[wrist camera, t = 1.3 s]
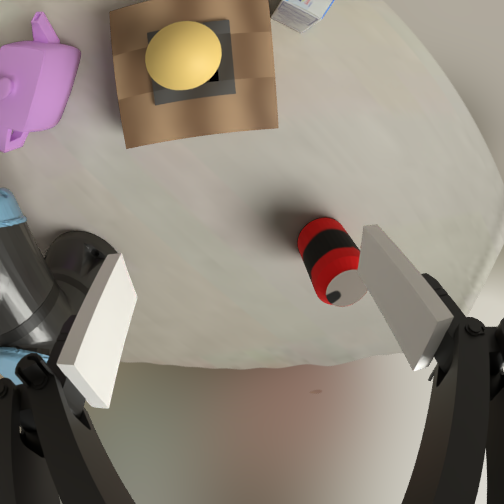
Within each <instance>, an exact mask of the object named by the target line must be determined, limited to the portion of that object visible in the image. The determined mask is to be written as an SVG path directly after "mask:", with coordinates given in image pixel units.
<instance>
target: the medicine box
mask: <svg viewBox="0 0 504 504" xmlns="http://www.w3.org/2000/svg"><path fill="white" fill-rule="evenodd" d="M333 2H334V0H281V2H280V3H279V4H278V6H277V8H276V9H275V11H274V12H273V14H272V16H271V18H272V19H274V20H276V21H278V22H280V23H282V24H284V25H286V26H288V27H290V28H292V29H294V30H296V31H298V32H300V33H303V32H304V31H305V30H307V29H308V28H310V27H311V26H313V25H314V24H316V23H317V22H319V21H320V20H322V18H323V17H324V15H325V14H326V12H327V11H328V9H329V8H330V6H331V5H332V3H333Z"/></svg>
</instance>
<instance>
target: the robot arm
mask: <svg viewBox="0 0 504 504" xmlns="http://www.w3.org/2000/svg"><path fill="white" fill-rule="evenodd" d="M26 221H27V219H26V217H25V216H23V214H22V212H21V210H20V208H19V205H18V203H17V201H16V199H15V197H14V195H13V193H12V192H11V191H10V190H9V189H7V188H0V374H1V375H2V376H4V377H5V378H2V379H0V504H60V499H61V501H62V503H63V504H135V502H134V500H133V499H132V498H131V496H130V494H129V493H128V491H127V489H126V488H125V486H124V484H123V483H122V481H121V479H120V477H119V476H118V474H117V472H116V470H115V469H114V467H113V465H112V463H111V461H110V459H109V457H108V455H107V453H106V451H105V449H104V447H103V445H102V443H101V441H100V439H99V437H98V435H97V433H96V430H95V428H94V426H93V424H92V421H91V419H90V417H89V414H88V412H87V411H86V409H85V408H84V403H85V399H86V401H87V402H88V403H89V404H90V405H91V406H92V407H97V408H109V406H110V401H111V396H112V392H113V387H114V382H115V378H116V374H117V370H118V366H119V362H120V358H121V354H122V350H123V346H124V343H125V339H126V335H127V332H128V328H129V325H130V321H131V318H132V314H133V311H134V307H135V304H136V301H137V298H138V297H137V295H136V292H135V289H134V287H133V284H132V281H131V279H130V276H129V273H128V270H127V267H126V265H125V262H124V259H123V256H122V253H117V252H116V251H115V250H114V248H113V247H112V246H110V245H109V244H108V243H107V242H106V241H104V240H103V239H101V238H99V237H97V236H95V235H93V234H90V233H87V232H81V231H73V232H68V233H65V234H63V235H61V236H59V237H58V238H57V239H56V240H55V241H54V242H53V244H52V245H51V246H50V247H49V249H48V250H47V252H46V255H45V258H43V256H42V254H41V252H40V250H39V248H38V246H37V244H36V242H35V240H34V238H33V236H32V234H31V231H30V229H29V227H28V225H27V223H26ZM357 273H358V274H359V276H360V277H361V279H362V281H363V282H364V284H365V286H366V287H367V289H368V291H369V292H370V294H371V296H372V297H373V299H374V301H375V302H376V304H377V306H378V308H379V309H380V311H381V313H382V315H383V316H384V318H385V320H386V322H387V323H388V325H389V327H390V329H391V331H392V332H393V334H394V336H395V338H396V340H397V341H398V343H399V345H400V347H401V349H402V351H403V353H404V354H405V356H406V358H407V360H408V362H409V364H410V366H411V368H412V370H413V371H416V370H419V369H422V368H425V367H428V366H429V365H430V363H431V361H432V359H433V357H435V359H436V361H437V365H436V367H435V368H434V370H433V372H432V373H431V375H430V377H429V379H428V380H429V381H431V379H432V377H433V376H434V379H433V386H432V392H431V398H430V403H429V409H428V414H427V419H426V423H425V428H424V432H423V436H422V440H421V444H420V448H419V452H418V456H417V459H416V463H415V466H414V469H413V473H412V476H411V479H410V482H409V485H408V488H407V491H406V493H405V496H404V499H403V501H402V504H475V500H476V496H477V492H478V487H479V483H480V478H481V472H482V468H483V462H484V455H485V448H486V458H487V504H504V372H503V367H504V318H503V319H502V320H501V322H500V324H499V326H498V327H485V326H484V324H483V323H482V322H481V321H479V320H478V319H475V318H473V317H465V315H464V314H463V313H462V311H461V310H460V309H459V307H458V306H457V305H456V303H455V302H454V301H453V300H452V298H451V297H450V296H449V295H448V293H447V292H446V291H445V290H444V289H443V288H442V286H441V285H440V284H439V282H438V281H437V280H436V279H435V278H433V277H432V276H430V275H429V274H427V273H425V274H420V272H419V271H418V270H417V269H416V268H415V266H414V265H413V264H412V263H411V262H410V261H409V259H408V258H407V257H406V256H405V255H404V254H403V252H402V251H401V250H400V249H399V248H398V247H397V246H396V245H395V243H394V242H393V241H392V240H391V239H390V238H389V237H388V236H387V235H386V233H385V232H384V231H383V230H382V229H381V228H380V227H379V226H378V225H377V224H376V225H366V226H363V234H362V242H361V250H360V257H359V264H358V271H357ZM19 426H20V427H21V430H22V431H21V433H20V431H19V430H20V429H19ZM58 494H59V495H58ZM59 497H60V499H59Z"/></svg>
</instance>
